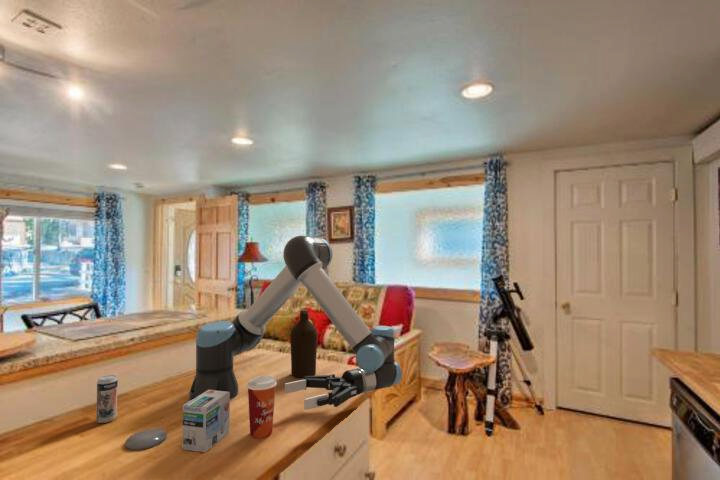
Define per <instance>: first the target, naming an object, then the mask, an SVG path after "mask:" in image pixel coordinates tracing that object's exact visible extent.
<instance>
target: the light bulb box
mask: <svg viewBox="0 0 720 480" xmlns="http://www.w3.org/2000/svg"><path fill="white" fill-rule="evenodd" d="M230 401H231V399H230V392H226V391H216V390H207V391H206V392H204V393H202V394H201V395H199V396H197V397H196V398H194V399H192V400H189V401H187V402H186V403H184V404H183V405H182V439H181V440H182V444H181V446H182V447H181V448H182V449H181V450H185V451H192V452H199V453H207V452H208V451H209V450H210V449H211V448H212V447H214V446H215V445H216V444H217V443H219V442H220V441H221V440H222V439H223V438H224V437H225V436H227V435H228V434H229V433H230V409H231V405H230V403H231V402H230Z"/></svg>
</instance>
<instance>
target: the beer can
mask: <svg viewBox="0 0 720 480" xmlns="http://www.w3.org/2000/svg"><path fill="white" fill-rule="evenodd" d="M118 381H119V380H118V378H117V376H116V375H113V374H112V375H111V374H110V375H105V376H101V377H100V378H99V379H98V381H97V383H96V407H95V408H96V413H95V414H96V415H95V421H96V422H95V423H99V424H107V423H110V422H112V421H114V420H115V419H116V418H117V417H118V416H117V414H118V413H117V411H118V384H119V382H118Z"/></svg>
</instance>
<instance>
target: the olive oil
mask: <svg viewBox="0 0 720 480" xmlns="http://www.w3.org/2000/svg"><path fill="white" fill-rule="evenodd" d="M299 312H300V313H299V320H298V321H297V323H296V324H295V325H294V326H293V327H292V328H291V331H290V336H289V341H290V361H291V367H290V368H291V369H290V372H291V376H292V377H293V378H297V379H304V376H316V371H317V352H318V351H317V350H318V349H317V348H318V329H317V328H316V327H315V325H314V324H313V323H312V322H311V321H310V320H309V310H308V309H300V310H299Z"/></svg>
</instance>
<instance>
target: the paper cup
mask: <svg viewBox="0 0 720 480" xmlns="http://www.w3.org/2000/svg"><path fill="white" fill-rule="evenodd" d="M277 385H278V383H277V381H276V379H275V377H274V376H272V375H257V376H254V377H251V378H250V379H248V382H247V385H246V388H247V396H248V418H249V419H248V420H249V421H248V422H249V433H250V437H251V438H253V439H257V440H259V439H265V438H268V437H270V436H271V435H272V434H273V429H274V427H273V425H274V412H275V398H276V397H275V396H276V386H277Z"/></svg>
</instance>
